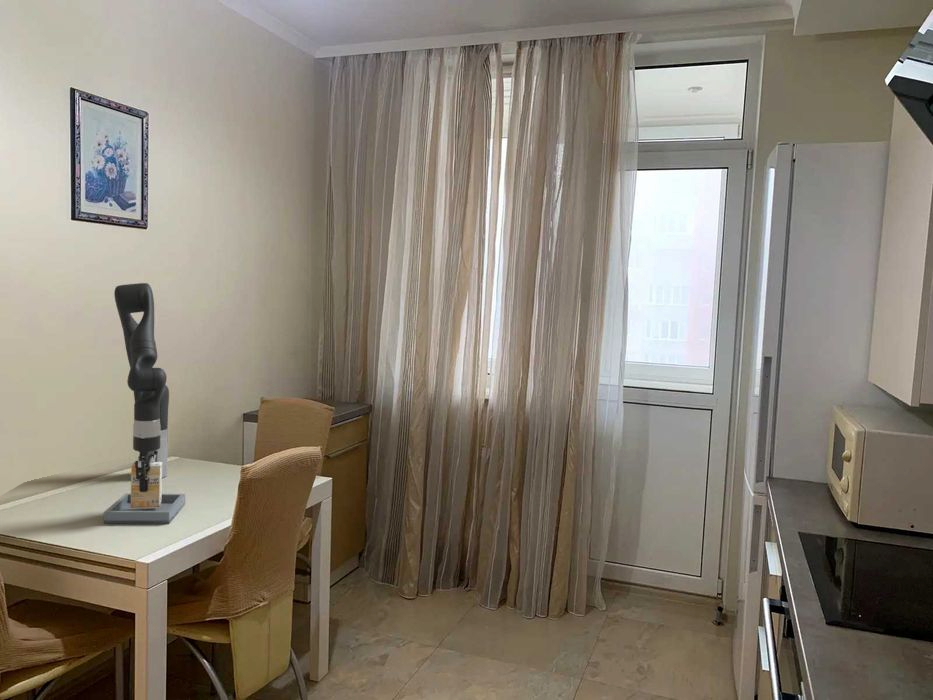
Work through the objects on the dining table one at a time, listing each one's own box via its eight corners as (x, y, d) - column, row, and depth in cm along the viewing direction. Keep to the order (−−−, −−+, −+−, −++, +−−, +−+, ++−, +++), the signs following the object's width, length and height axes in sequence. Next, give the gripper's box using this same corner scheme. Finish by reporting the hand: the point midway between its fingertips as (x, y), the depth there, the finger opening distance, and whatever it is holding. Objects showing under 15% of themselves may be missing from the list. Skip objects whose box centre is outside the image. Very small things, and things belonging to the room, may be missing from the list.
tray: (125, 504, 223) (125, 493, 222) (185, 504, 225) (185, 493, 225) (104, 523, 205) (104, 512, 204) (169, 523, 207) (169, 512, 207)
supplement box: (130, 508, 211) (130, 465, 210) (133, 503, 216) (133, 461, 215) (159, 507, 214) (160, 465, 212) (162, 502, 218) (162, 460, 217)
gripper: (141, 428, 219) (141, 481, 221) (125, 438, 205) (125, 496, 207) (166, 428, 220) (166, 482, 222) (152, 439, 206) (152, 496, 208)
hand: (146, 488), depth 214 cm, fingers closed on supplement box, 5 cm apart
